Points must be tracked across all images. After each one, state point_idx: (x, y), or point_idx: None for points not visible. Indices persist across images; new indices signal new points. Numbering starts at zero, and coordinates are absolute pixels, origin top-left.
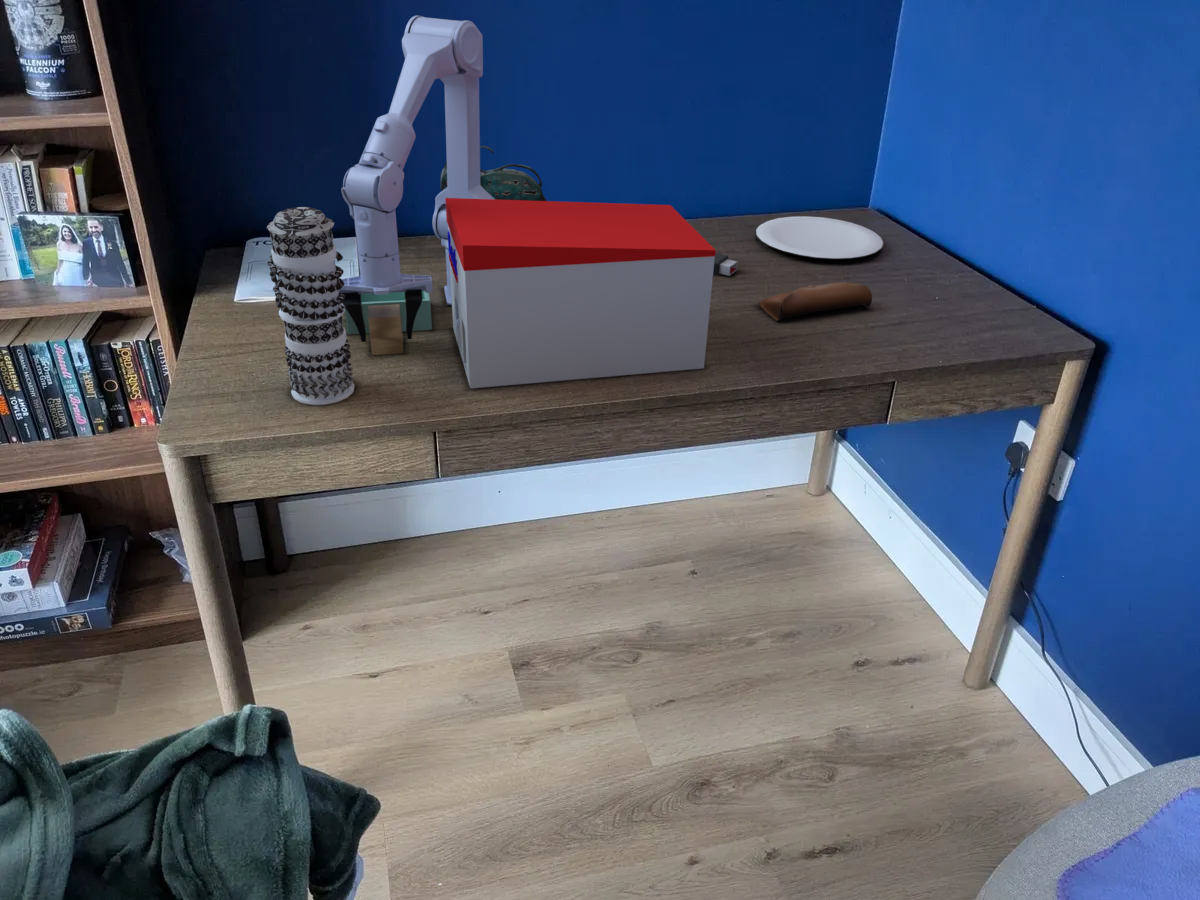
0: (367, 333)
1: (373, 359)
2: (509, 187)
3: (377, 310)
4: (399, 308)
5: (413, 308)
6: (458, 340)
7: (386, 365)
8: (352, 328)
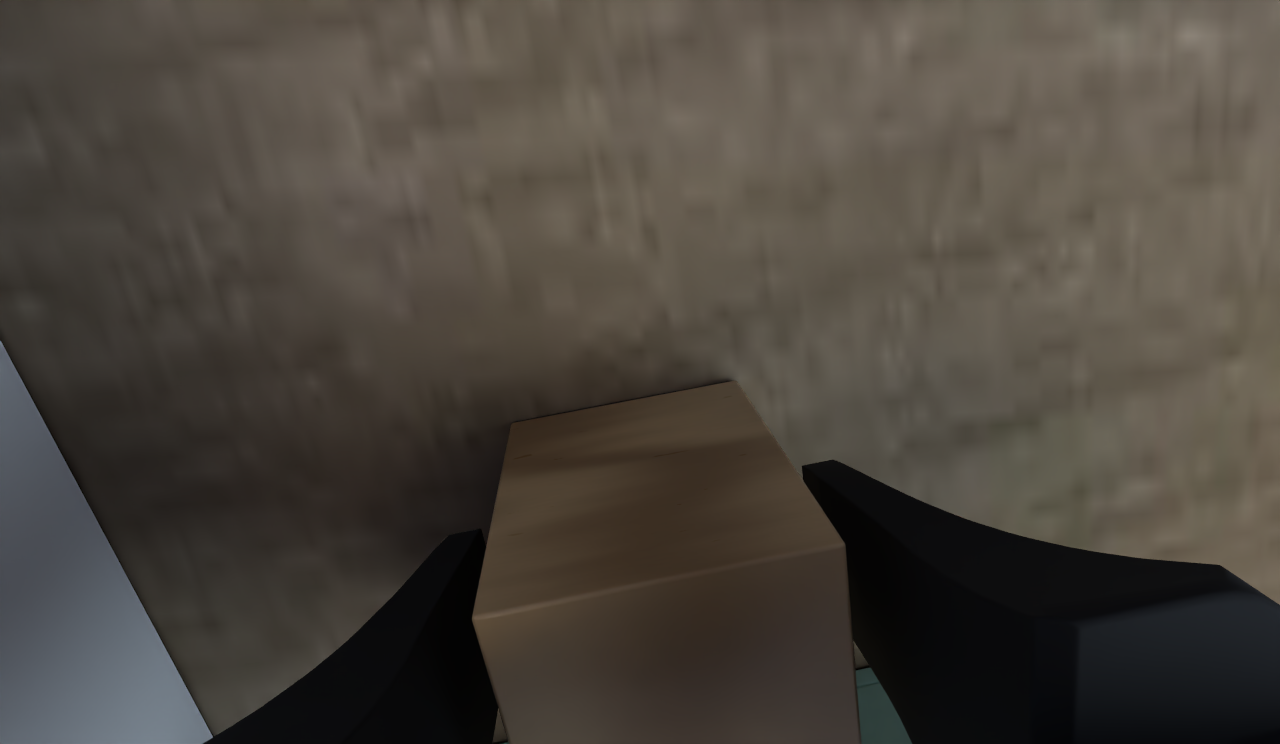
0: None
1: (719, 315)
2: None
3: (761, 729)
4: None
5: (269, 727)
6: (53, 561)
7: (605, 215)
8: None
